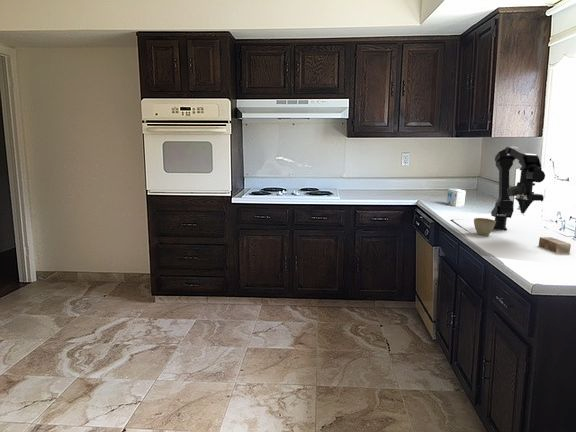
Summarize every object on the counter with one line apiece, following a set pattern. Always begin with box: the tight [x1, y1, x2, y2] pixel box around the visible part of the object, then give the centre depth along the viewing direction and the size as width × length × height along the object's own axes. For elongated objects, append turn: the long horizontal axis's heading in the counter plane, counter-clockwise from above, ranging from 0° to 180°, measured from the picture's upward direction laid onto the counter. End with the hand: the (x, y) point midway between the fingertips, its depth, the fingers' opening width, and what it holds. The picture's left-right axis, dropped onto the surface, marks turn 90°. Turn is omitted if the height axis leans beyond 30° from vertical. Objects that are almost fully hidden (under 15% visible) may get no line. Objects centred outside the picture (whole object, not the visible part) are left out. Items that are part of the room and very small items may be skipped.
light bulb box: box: [446, 188, 467, 207], centre depth 319 cm, size 11×7×11 cm, turn 17°
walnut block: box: [538, 236, 572, 254], centre depth 209 cm, size 4×6×12 cm
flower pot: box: [473, 217, 496, 236], centre depth 232 cm, size 10×10×7 cm
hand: (522, 213), depth 226 cm, fingers closed
